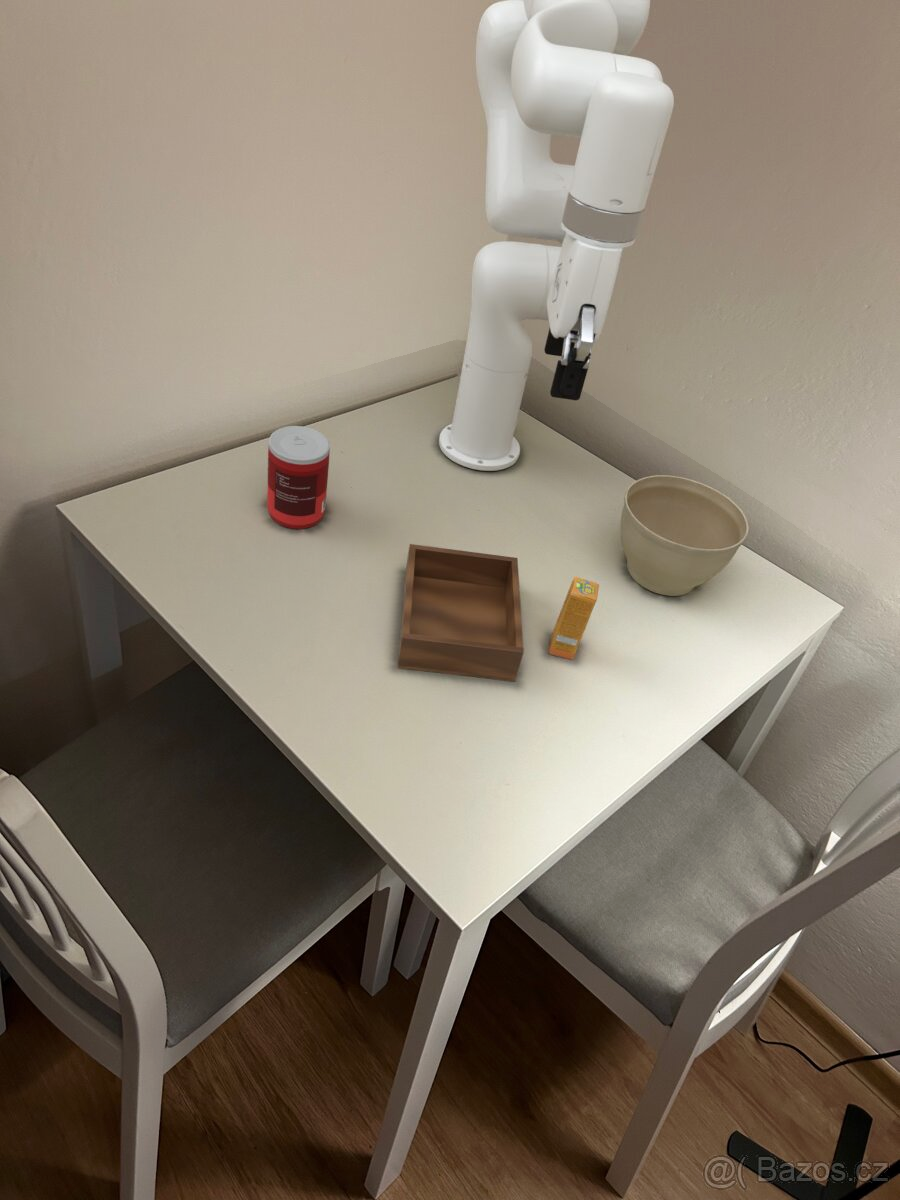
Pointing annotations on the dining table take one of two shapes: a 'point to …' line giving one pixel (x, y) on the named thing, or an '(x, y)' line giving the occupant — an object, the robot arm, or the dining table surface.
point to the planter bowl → (678, 533)
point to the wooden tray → (461, 614)
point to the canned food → (297, 476)
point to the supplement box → (573, 618)
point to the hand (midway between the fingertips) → (560, 375)
